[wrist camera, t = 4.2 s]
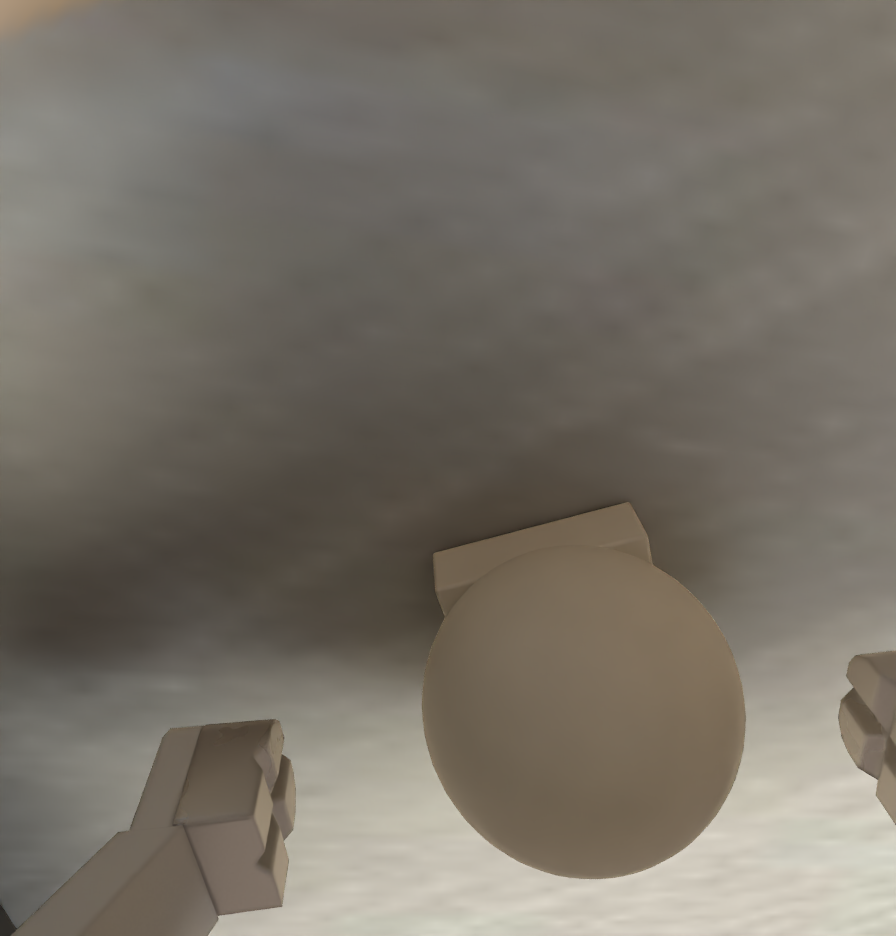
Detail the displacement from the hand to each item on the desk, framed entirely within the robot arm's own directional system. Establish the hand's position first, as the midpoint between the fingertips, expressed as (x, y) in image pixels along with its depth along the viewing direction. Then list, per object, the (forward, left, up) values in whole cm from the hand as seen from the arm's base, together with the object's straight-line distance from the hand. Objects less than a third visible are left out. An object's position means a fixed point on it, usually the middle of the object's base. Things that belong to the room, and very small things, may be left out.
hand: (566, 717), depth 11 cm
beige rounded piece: (0, 0, -2) cm, 2 cm away
